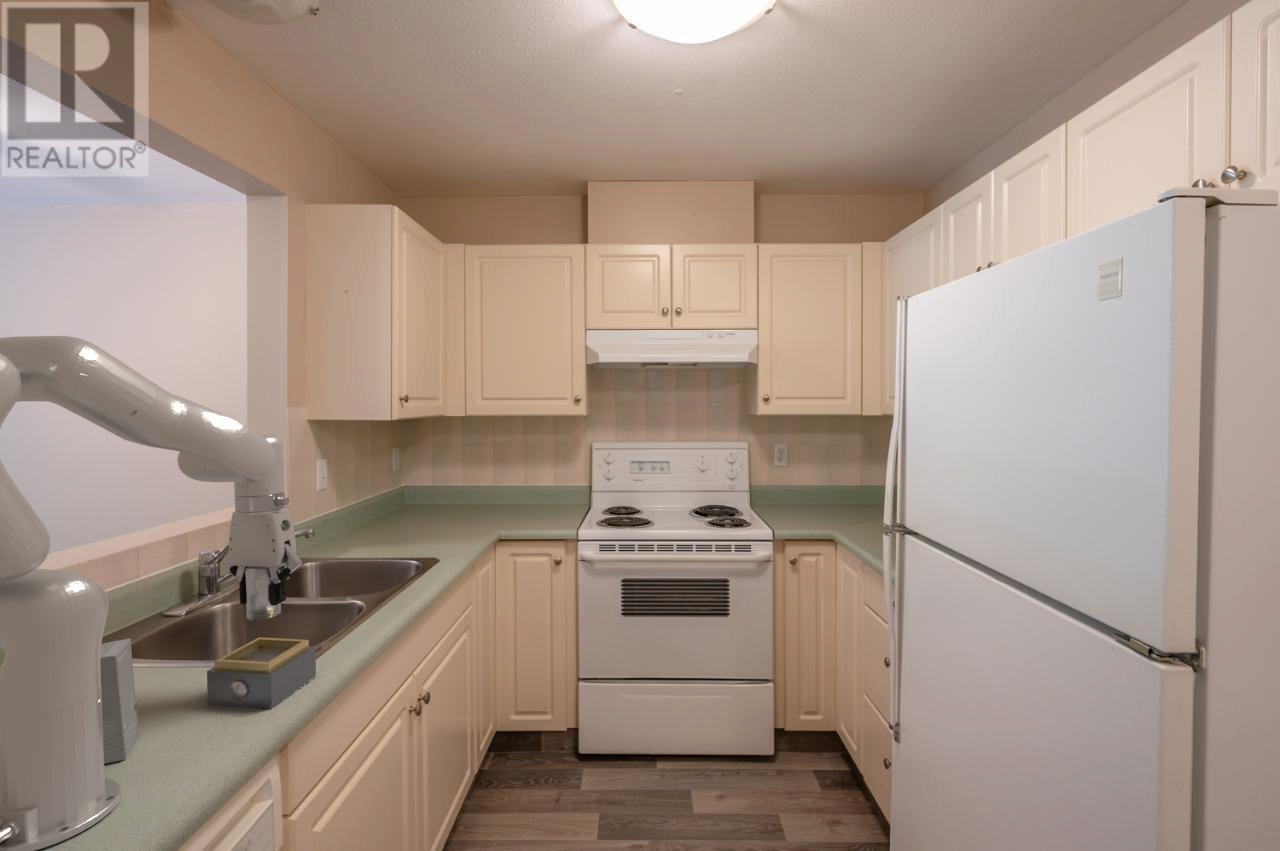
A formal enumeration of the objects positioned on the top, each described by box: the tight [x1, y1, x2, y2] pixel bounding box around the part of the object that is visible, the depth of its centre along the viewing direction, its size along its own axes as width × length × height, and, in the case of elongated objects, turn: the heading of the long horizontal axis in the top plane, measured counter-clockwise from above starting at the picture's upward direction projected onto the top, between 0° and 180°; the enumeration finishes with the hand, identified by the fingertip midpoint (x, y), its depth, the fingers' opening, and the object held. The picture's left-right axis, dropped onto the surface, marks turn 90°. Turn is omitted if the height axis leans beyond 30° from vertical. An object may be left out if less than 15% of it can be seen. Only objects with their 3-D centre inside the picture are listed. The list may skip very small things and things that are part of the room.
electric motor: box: [245, 567, 282, 621], centre depth 106 cm, size 6×5×10 cm
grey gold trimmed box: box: [206, 636, 317, 710], centre depth 106 cm, size 12×12×8 cm
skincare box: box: [100, 637, 139, 765], centre depth 87 cm, size 8×7×16 cm
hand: (263, 601), depth 105 cm, fingers closed on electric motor, 5 cm apart
